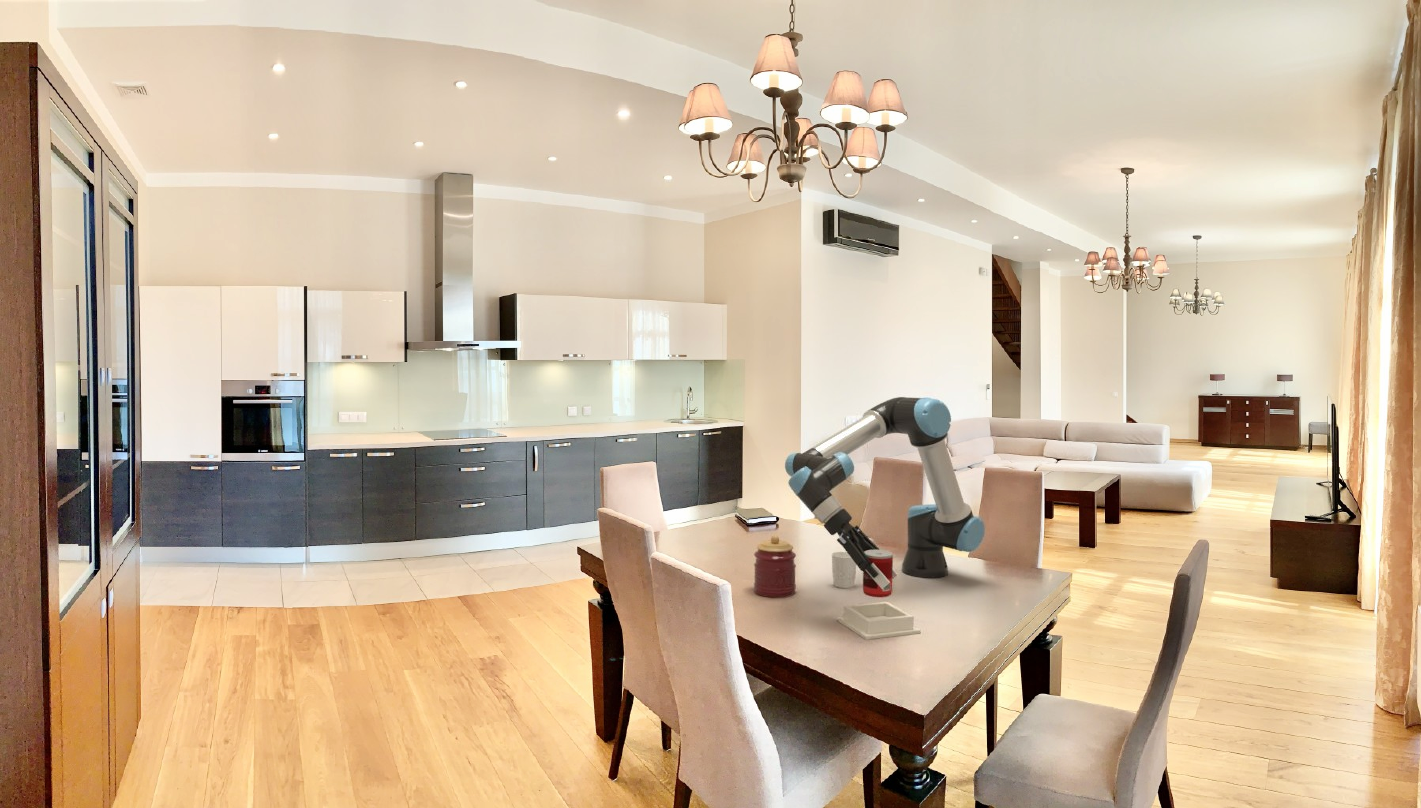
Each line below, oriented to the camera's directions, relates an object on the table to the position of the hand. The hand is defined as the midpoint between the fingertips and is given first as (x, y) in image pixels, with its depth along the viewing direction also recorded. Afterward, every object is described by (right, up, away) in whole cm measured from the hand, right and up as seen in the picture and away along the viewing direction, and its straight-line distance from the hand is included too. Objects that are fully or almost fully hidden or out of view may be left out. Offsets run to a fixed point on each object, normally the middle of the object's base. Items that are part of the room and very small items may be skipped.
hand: (890, 581), depth 203 cm
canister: (-28, -11, +34) cm, 45 cm away
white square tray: (-3, -13, +2) cm, 13 cm away
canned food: (-3, -4, +2) cm, 5 cm away
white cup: (-5, -11, +41) cm, 43 cm away
